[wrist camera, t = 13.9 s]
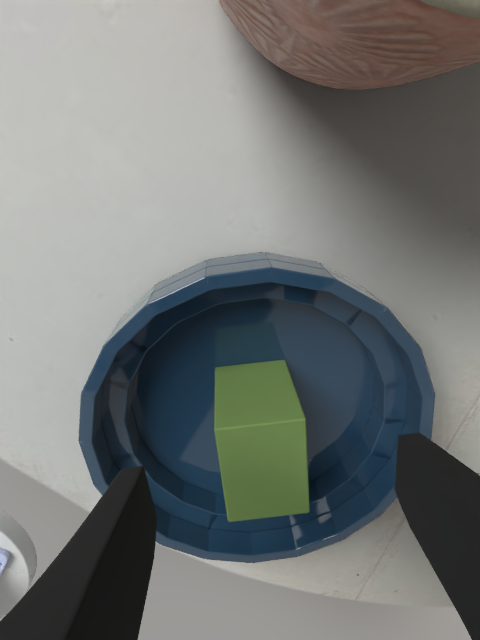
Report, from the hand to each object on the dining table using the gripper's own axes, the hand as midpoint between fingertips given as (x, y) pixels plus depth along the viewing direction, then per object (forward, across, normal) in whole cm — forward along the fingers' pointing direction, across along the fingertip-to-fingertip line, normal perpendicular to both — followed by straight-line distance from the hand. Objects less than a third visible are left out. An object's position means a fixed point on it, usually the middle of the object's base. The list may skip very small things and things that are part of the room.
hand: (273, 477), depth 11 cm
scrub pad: (+9, 0, +4) cm, 9 cm away
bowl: (+9, 0, +4) cm, 10 cm away
